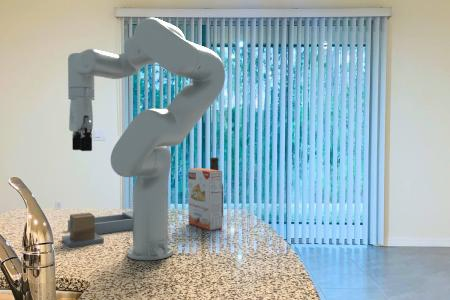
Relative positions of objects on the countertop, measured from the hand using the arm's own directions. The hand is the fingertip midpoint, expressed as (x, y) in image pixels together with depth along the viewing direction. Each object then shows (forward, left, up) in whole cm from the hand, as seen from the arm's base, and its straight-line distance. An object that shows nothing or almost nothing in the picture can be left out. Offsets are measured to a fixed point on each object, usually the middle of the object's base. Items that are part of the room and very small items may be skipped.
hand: (82, 150), depth 119 cm
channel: (+12, -12, -28) cm, 33 cm away
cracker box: (-4, -42, -28) cm, 51 cm away
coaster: (0, 0, -28) cm, 28 cm away
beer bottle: (+11, -56, -28) cm, 64 cm away
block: (0, 0, -27) cm, 27 cm away
